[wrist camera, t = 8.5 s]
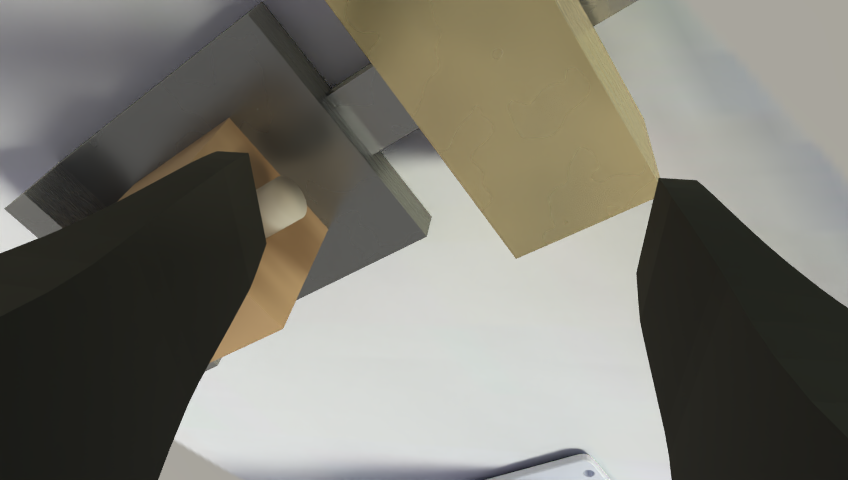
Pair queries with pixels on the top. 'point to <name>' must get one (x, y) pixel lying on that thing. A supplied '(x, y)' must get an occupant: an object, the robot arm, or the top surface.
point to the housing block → (284, 231)
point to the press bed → (262, 143)
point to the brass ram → (514, 108)
